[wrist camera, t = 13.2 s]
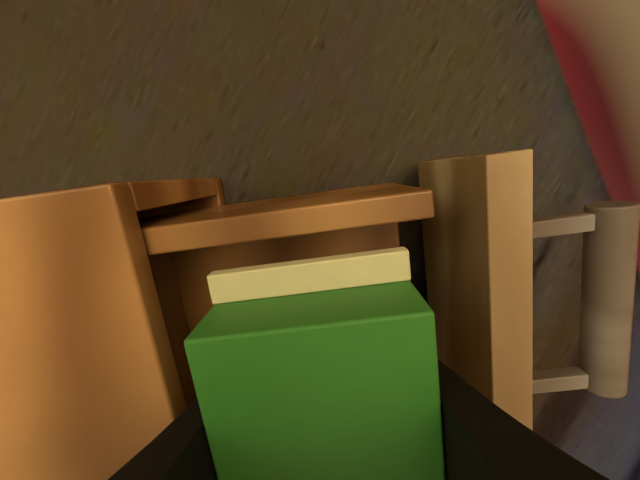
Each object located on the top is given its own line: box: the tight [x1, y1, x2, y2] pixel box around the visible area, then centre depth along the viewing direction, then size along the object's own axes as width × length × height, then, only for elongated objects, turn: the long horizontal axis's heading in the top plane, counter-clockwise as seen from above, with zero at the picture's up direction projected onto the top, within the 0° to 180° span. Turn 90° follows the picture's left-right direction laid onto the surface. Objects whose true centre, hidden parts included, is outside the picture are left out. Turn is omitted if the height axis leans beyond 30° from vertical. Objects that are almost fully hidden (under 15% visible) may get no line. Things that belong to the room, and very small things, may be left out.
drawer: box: [138, 149, 640, 430], centre depth 13 cm, size 18×11×6 cm, turn 98°
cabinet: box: [0, 177, 225, 480], centre depth 13 cm, size 15×13×8 cm
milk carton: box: [184, 247, 446, 480], centre depth 8 cm, size 8×4×4 cm, turn 8°
